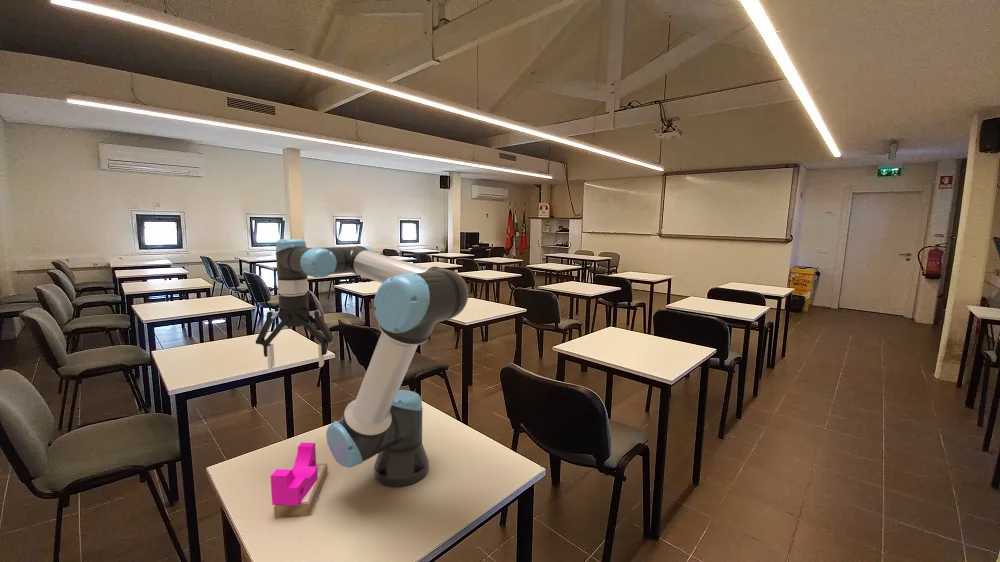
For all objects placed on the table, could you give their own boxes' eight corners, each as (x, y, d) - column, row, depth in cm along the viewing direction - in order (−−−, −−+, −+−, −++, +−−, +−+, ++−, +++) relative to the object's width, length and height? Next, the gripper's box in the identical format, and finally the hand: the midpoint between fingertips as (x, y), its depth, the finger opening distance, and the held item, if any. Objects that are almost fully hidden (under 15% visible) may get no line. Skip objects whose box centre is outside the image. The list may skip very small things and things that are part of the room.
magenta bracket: (298, 505, 98) (296, 476, 97) (272, 504, 98) (270, 475, 97) (325, 468, 112) (324, 442, 111) (302, 468, 112) (301, 442, 111)
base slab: (327, 473, 115) (327, 463, 115) (310, 515, 99) (309, 503, 98) (297, 475, 114) (296, 465, 114) (274, 518, 97) (273, 506, 97)
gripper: (342, 291, 121) (344, 360, 124) (251, 292, 117) (255, 363, 120) (336, 295, 114) (339, 369, 117) (239, 296, 110) (244, 372, 113)
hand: (296, 366), depth 118 cm, fingers open, 13 cm apart
